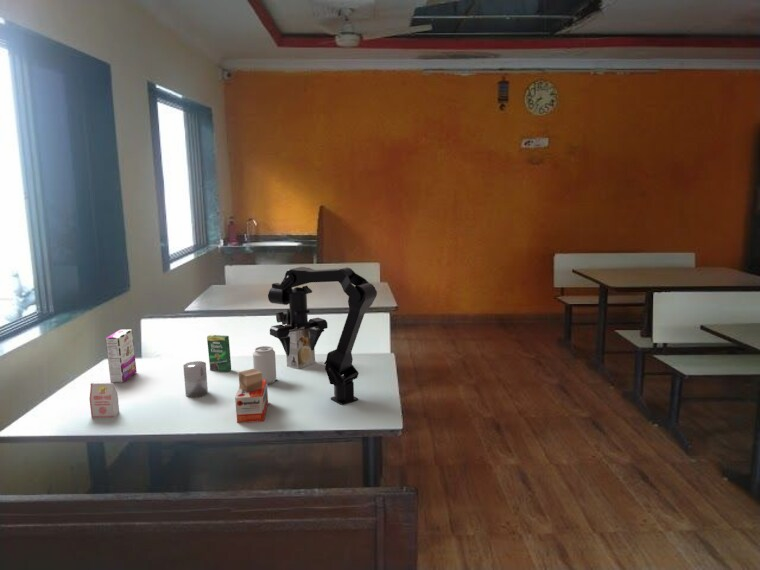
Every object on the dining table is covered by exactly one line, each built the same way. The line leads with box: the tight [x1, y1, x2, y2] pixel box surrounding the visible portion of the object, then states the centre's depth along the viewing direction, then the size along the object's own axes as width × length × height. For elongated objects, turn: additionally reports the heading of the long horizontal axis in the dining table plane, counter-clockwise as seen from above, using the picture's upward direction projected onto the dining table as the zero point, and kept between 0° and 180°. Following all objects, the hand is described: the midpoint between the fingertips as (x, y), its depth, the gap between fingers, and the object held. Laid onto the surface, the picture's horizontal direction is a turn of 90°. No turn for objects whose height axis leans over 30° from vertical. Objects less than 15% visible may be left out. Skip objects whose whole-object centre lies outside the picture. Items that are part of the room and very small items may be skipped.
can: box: [252, 345, 277, 385], centre depth 207 cm, size 8×8×12 cm
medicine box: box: [234, 380, 269, 424], centre depth 180 cm, size 15×8×8 cm, turn 6°
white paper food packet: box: [89, 382, 120, 418], centre depth 180 cm, size 4×7×10 cm, turn 90°
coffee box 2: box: [284, 324, 316, 370], centre depth 224 cm, size 9×6×16 cm
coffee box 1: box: [206, 334, 232, 373], centre depth 220 cm, size 8×3×13 cm, turn 70°
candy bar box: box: [105, 328, 137, 384], centre depth 213 cm, size 11×5×16 cm, turn 179°
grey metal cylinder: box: [182, 360, 209, 399], centre depth 196 cm, size 7×7×10 cm
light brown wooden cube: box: [238, 368, 262, 392], centre depth 179 cm, size 5×5×5 cm
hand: (300, 352), depth 196 cm, fingers open, 9 cm apart
